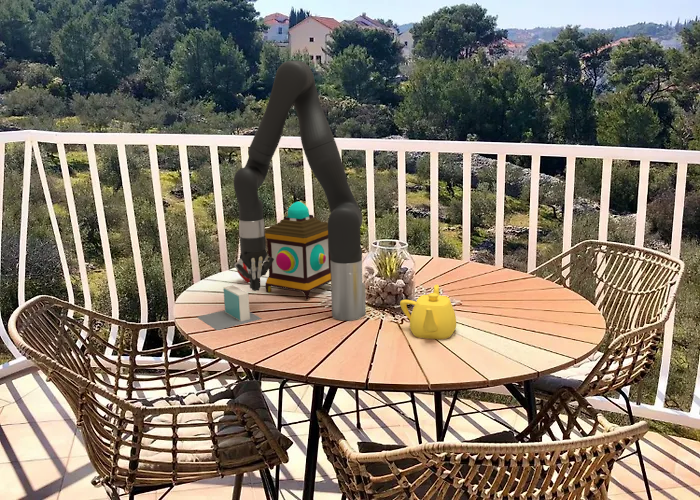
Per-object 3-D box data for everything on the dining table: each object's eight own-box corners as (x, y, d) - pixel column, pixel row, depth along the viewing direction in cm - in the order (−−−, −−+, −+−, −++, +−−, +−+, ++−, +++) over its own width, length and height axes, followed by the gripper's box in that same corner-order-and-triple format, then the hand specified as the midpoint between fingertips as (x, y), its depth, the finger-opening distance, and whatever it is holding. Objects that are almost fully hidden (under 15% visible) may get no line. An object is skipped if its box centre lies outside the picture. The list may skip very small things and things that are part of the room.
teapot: (405, 315, 195) (405, 280, 193) (458, 318, 192) (459, 283, 189) (393, 344, 175) (393, 305, 172) (452, 348, 171) (453, 308, 169)
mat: (240, 307, 205) (240, 306, 205) (262, 319, 194) (262, 318, 194) (196, 318, 197) (196, 316, 197) (217, 331, 186) (217, 330, 186)
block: (234, 310, 202) (232, 285, 200) (249, 319, 194) (248, 293, 192) (224, 312, 200) (222, 287, 198) (240, 321, 192) (238, 295, 190)
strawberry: (241, 279, 234) (239, 252, 232) (261, 280, 232) (259, 253, 230) (234, 284, 229) (232, 256, 226) (254, 285, 227) (253, 257, 224)
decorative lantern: (308, 303, 208) (305, 209, 201) (259, 293, 218) (254, 204, 211) (342, 286, 225) (340, 198, 217) (295, 278, 235) (291, 194, 227)
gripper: (237, 239, 188) (241, 297, 192) (278, 232, 196) (280, 288, 200) (226, 235, 194) (229, 291, 198) (265, 228, 201) (268, 283, 206)
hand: (255, 290), depth 199 cm, fingers closed
